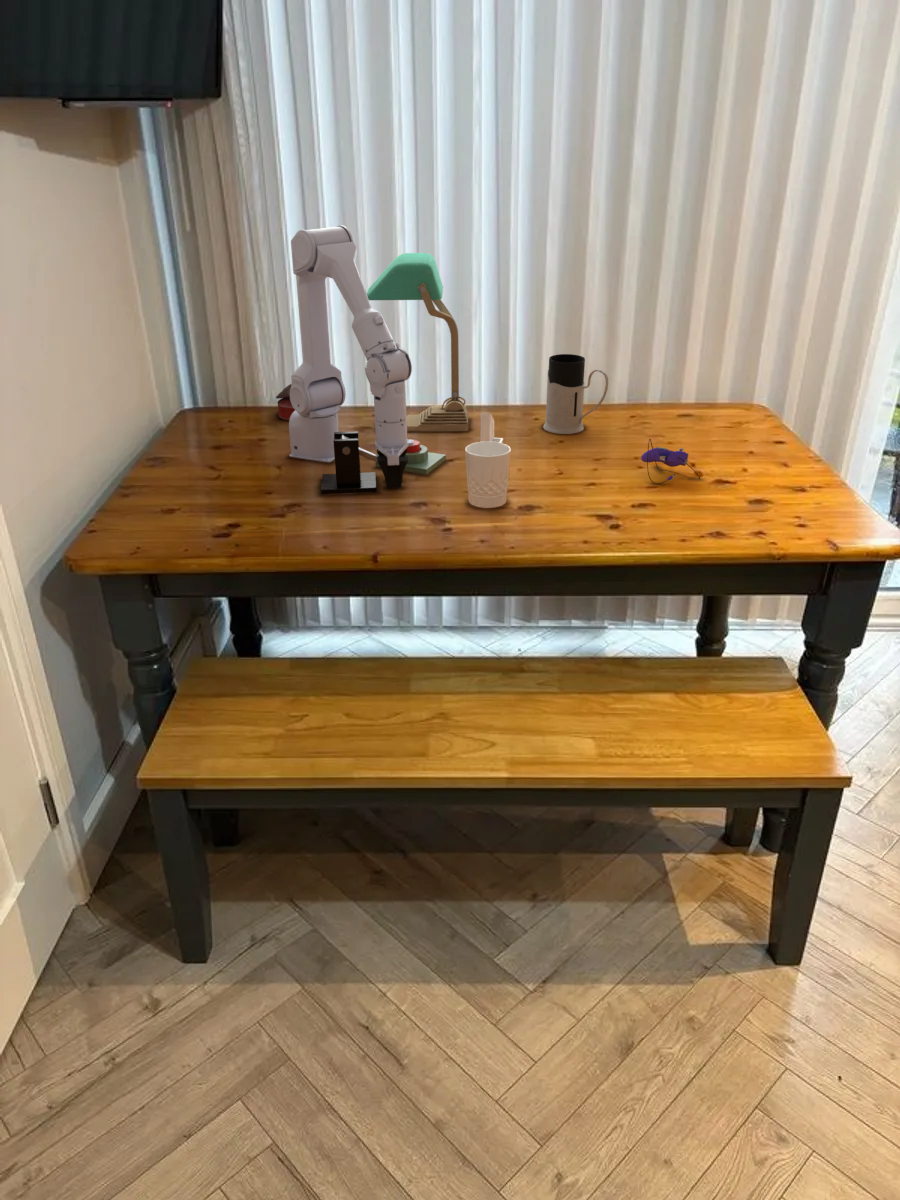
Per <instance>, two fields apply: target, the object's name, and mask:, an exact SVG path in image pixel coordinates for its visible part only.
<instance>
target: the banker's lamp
mask: <svg viewBox="0 0 900 1200" xmlns="http://www.w3.org/2000/svg"><path fill="white" fill-rule="evenodd" d="M437 265H438V264H437V262H436V259H435V257H434V256H433V255H432V254H431V253H427V252H407V253H401V254H399V255H398V256H396V257H395V258H394V259H393V260H392V261H391V263H390V264H389V265H388V266H387V267H386V268H385V269H384V270H383V272H381V273H380V275H378V277H377V278H376V279H375V281H374V282H373V283H372V284H371V285H370V286H369V288H368V290H367V291H366V294H367V296H368V299H369V301H423V303H424V306H425V308H426V310H427V312H428V314H429V315H430V316H432V317H434V318H439V319H442V320H443V321H445V322H446V325H447V326H448V329H449V333H450V369H451V370H450V374H451V375H450V376H451V377H450V379H451V381H450V382H451V385H450V387H451V392H450V393H451V394H450V395H451V397H448V398H446V399H445V400H444V401H443V403H442V404H440V405H437V404H436V405H433V404H432V406H428V408H426V409H425V410H423V411H422V412H420V414H406V418H407V433H409V432H410V433H411V432H469V412H468V410H467V406H466V399H465V398H464V397H462V396H460V379H459V377H460V376H459V375H460V374H459V373H460V371H459V370H460V369H459V367H460V365H459V364H460V362H459V359H460V358H459V357H460V356H459V355H460V354H459V329H458V326H457V323H456V320H455V319H454V317H453V316H452V315H453V314H451V312H450V311H449V309H448V308H447V306H446V305H445V303H443V300H442V299H443V293H444V285H443V281H442V278H441V275H440V272H439V268H438V266H437ZM436 308H437V309H436Z"/></svg>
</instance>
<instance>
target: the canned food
mask: <svg viewBox="0 0 900 1200" xmlns="http://www.w3.org/2000/svg"><path fill="white" fill-rule="evenodd" d="M291 384H292V383H290V384H288V385H286V387H284V388H283V389H282V391H280V392H279V393H277V395H276V396H275V399H276V400H277V399H278V400H277V402H276V403H277V410H278V411H277V412H278V417H279V418H280V419H282V420H285V421H290V417H291V415H292V413H293V412H294V411H295V409H294V408H293V406H292V404H291V401H290V389H291Z"/></svg>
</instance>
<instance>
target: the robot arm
mask: <svg viewBox="0 0 900 1200" xmlns="http://www.w3.org/2000/svg"><path fill="white" fill-rule="evenodd" d="M290 247H291V249H290V250H291V261H292V273H293V274H294V275H295V280H296V281H295V282H296V293H297V294H296V295H297V303H298V304H297V307H298V317H299V318H298V319H299V330H300V331H299V332H300V345H301V356H302V357H301V358H302V363H301V364H300V365H299V366H298V367H297V369H296V370H295V371H294V372H293V373H292V374H291V375H290V377H291V378H290V380H291V383H290V384H291V389H290V401H291V404H292V406H293V408H294V409H295V411H294V412H293V413H292V415H291V417H290V420H288V433H289V443H290V444H289V445H290V454H289V457H290V458H297V459H301V460H303V459H304V460H309V461H316V462H322V463H332V462H333V461H335V456H334V442H333V441H334V432H340V430H339V429H340V427H339V414H338V413H339V412H340V411H341V406H343V405H344V403H345V401H346V387H345V384H344V381H343V377H342V371H341V370H340V368H338V367H337V366H336V365H334V364H333V363H332V362H331V350H330V335H329V320H328V319H329V318H328V305H327V304H328V303H327V288H326V279H327V278H330V279H332V280H333V282H334V283H335V285H336V287H337V289H338V291H339V293H340V295H341V296H342V298H343V300H344V301H345V303H346V305H347V307H348V309H349V311H350V313H351V314H352V316H353V319H352V323H351V328H352V331H353V333H354V336H355V337H356V340H357V342H358V345H359V346H360V348H361V350H362V353H363V355H364V357H365V359H366V361H367V362H366V365H365V367H364V372H365V376H366V379H367V381H368V383H369V389H370V390H369V391H370V392H371V395H372V396H373V410H374V411H373V412H374V429H375V430H374V431H375V442H374V445H375V446H374V447H375V449H376V455H378V456H377V462H378V464H379V466H380V467H381V468H380V467H379V468H380V469H381V471H382V474H383V477H384V481H385V486H386V488H387V489H394V488H402V484H403V483H402V482H403V476H404V472H405V471H404V469H405V467H406V465H407V463H408V457H405V455H406V453H407V447H409V446H414V440H415V439H409V438H408V432H407V418H406V415H407V395H406V393H407V391H406V381H408V380H409V379H410V378H411V375H412V372H413V365H412V361H411V358H410V355H409V353H408V352H407V350H405V349H404V348H403V347H401V345H400V344H399V343H398V342H395V340H394V338H393V336H392V333H391V331H390V329H389V327H388V325H387V323H386V321H385V318H384V317H383V314H382V312H380V311H379V310H376V309H375V308H372V304H371V302H370V300H369V299H368V296H367V294H366V293H367V291H366V288H365V285H364V283H363V280H362V277H361V276H360V275H361V274H360V272H359V269H358V267H357V263H356V259H357V253H358V247H357V245H356V243H355V240H354V236H353V234H352V232H351V230H350V229H349V228H348V227H347V226H345V225H343V224H342V225H341V224H339V225H336V226H330V227H322V228H321V227H320V228H314V229H313V228H312V229H299V230H298V231H296V233H295V235H293V236H292V238H291V240H290Z"/></svg>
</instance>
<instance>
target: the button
mask: <svg viewBox="0 0 900 1200" xmlns="http://www.w3.org/2000/svg"><path fill="white" fill-rule="evenodd" d="M413 440H414V446H409V447H407V453H416V452H419V451H420V445H421V442H420V441H419V440H417V439H413Z"/></svg>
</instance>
